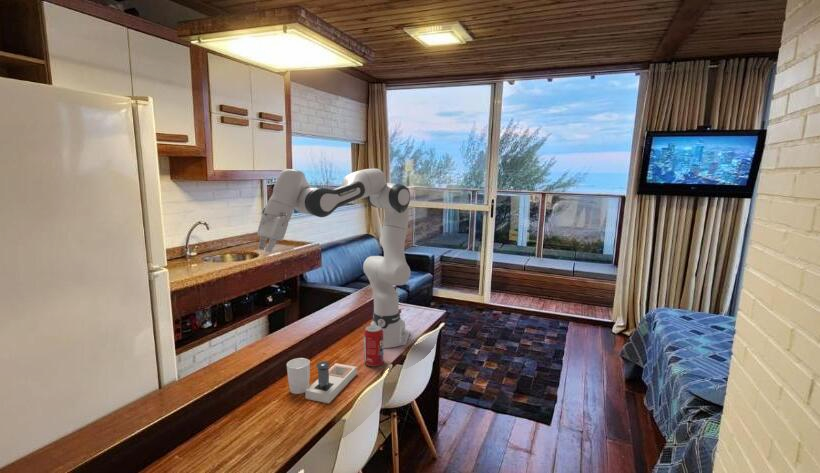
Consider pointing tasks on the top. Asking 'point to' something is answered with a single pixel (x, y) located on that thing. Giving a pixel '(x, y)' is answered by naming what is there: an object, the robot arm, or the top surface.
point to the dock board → (332, 383)
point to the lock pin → (323, 375)
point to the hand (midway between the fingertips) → (263, 250)
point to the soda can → (373, 345)
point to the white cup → (298, 375)
